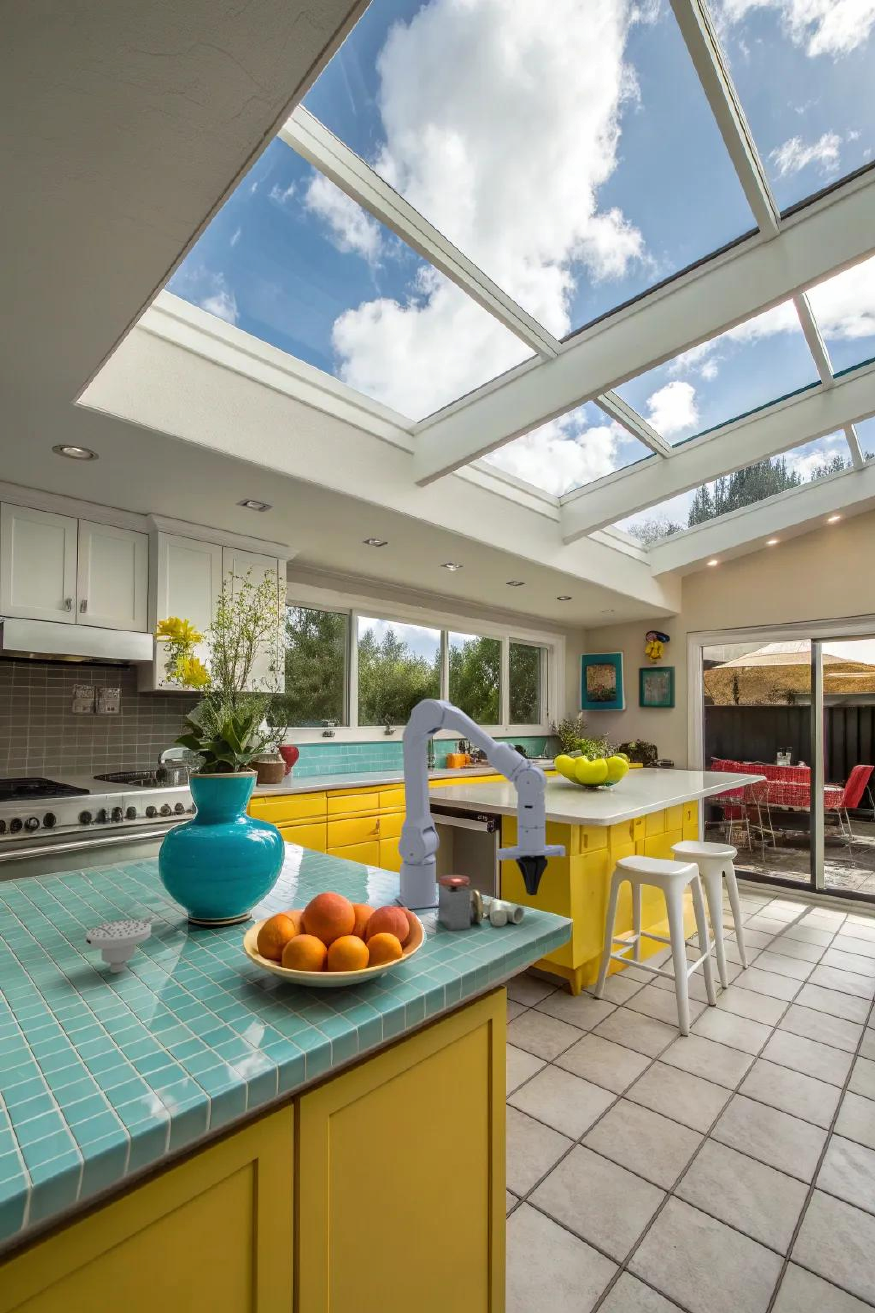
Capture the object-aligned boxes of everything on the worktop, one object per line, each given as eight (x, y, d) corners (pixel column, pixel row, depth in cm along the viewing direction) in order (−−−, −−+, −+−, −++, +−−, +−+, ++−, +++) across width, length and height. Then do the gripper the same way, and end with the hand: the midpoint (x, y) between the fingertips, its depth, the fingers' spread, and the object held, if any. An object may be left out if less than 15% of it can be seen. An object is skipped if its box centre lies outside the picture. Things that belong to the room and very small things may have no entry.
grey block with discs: (433, 920, 130) (433, 875, 131) (471, 916, 133) (471, 872, 134) (445, 931, 124) (445, 884, 125) (484, 926, 126) (484, 880, 127)
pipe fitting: (501, 933, 125) (525, 922, 129) (500, 912, 125) (523, 902, 129) (471, 923, 131) (495, 913, 135) (470, 903, 131) (494, 894, 135)
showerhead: (165, 922, 107) (100, 937, 100) (163, 968, 106) (98, 987, 99) (140, 910, 113) (77, 924, 106) (138, 954, 113) (75, 971, 105)
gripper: (506, 831, 129) (506, 902, 128) (572, 827, 134) (573, 896, 133) (492, 825, 136) (492, 892, 135) (555, 822, 141) (556, 887, 139)
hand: (531, 894), depth 134 cm, fingers closed
